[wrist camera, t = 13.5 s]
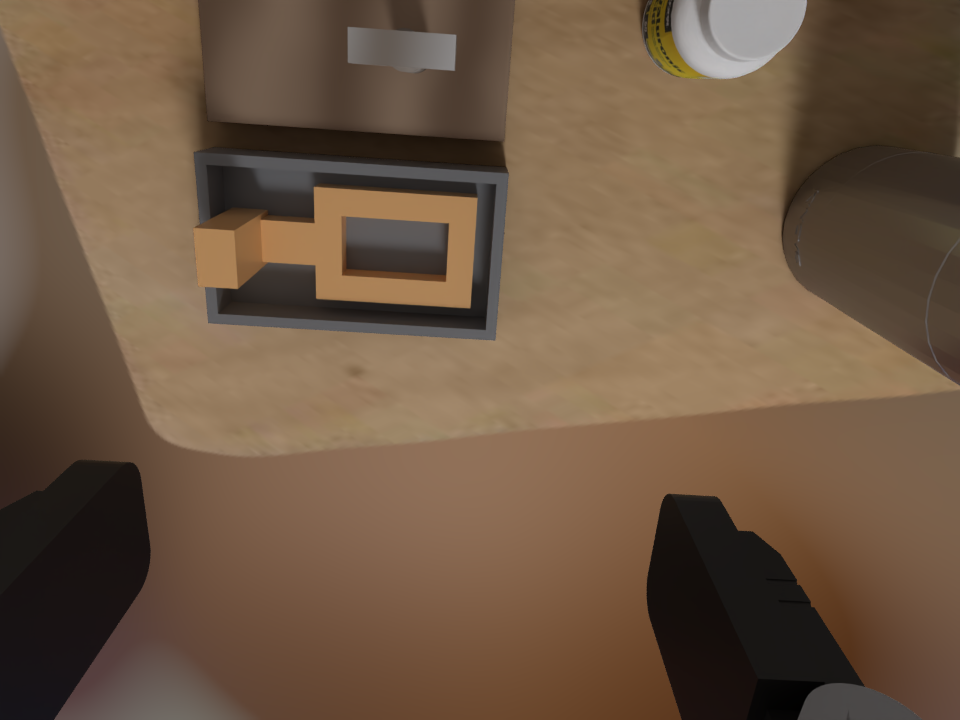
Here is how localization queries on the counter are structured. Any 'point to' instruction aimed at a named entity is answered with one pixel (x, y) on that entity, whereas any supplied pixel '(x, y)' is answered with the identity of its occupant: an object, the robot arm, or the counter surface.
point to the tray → (355, 241)
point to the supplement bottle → (718, 34)
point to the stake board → (360, 65)
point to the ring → (342, 245)
